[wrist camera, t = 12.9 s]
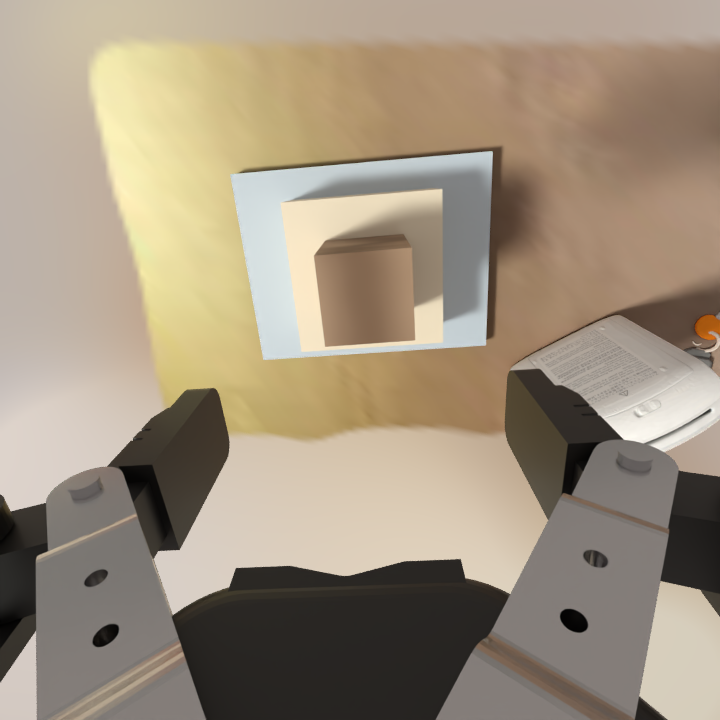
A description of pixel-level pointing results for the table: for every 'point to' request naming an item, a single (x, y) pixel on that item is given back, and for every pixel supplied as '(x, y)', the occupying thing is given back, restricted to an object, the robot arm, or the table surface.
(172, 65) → the table surface
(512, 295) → the table surface
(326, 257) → the walnut block
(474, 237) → the butter dish
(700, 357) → the key chain
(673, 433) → the photo printer
